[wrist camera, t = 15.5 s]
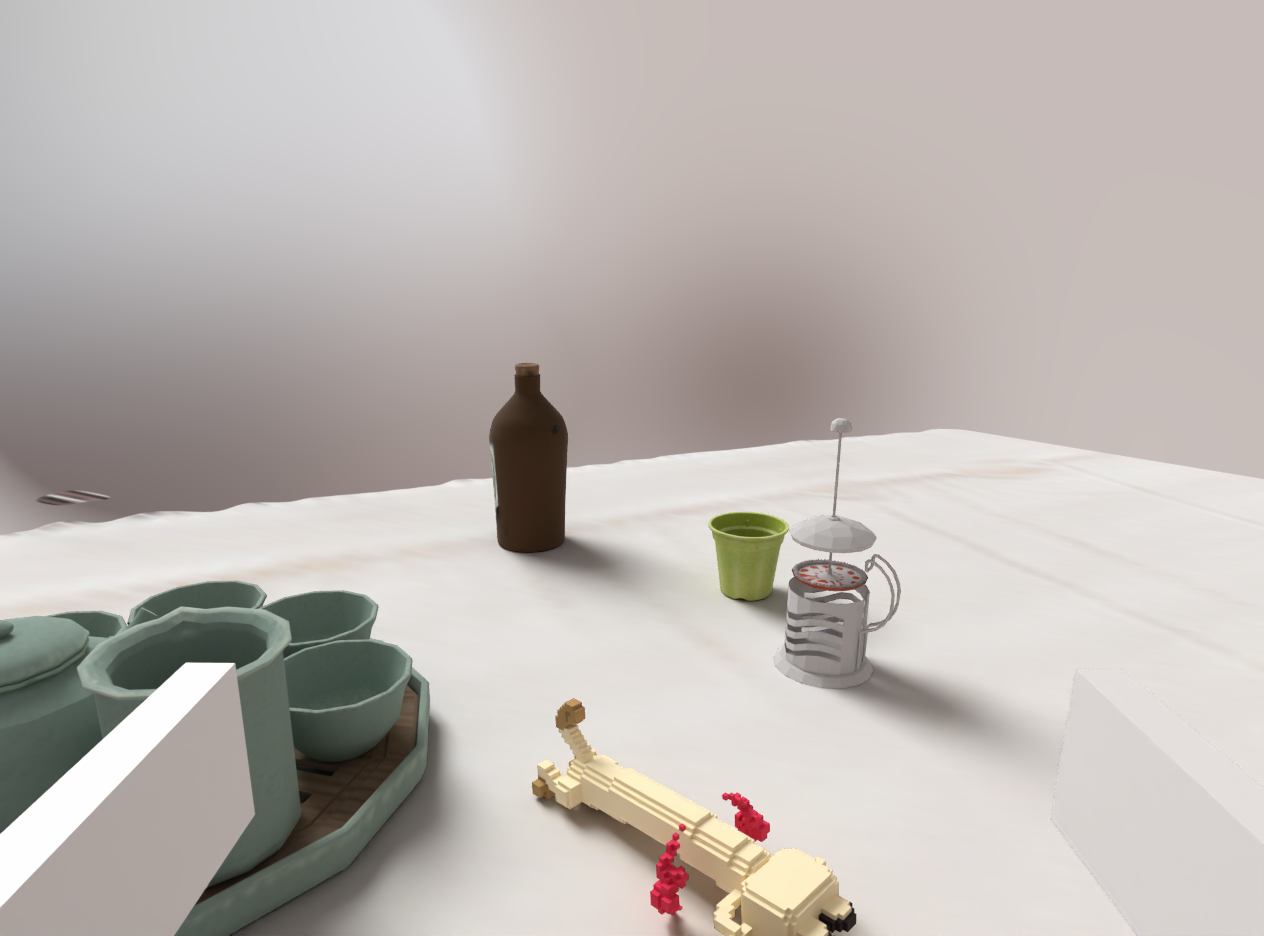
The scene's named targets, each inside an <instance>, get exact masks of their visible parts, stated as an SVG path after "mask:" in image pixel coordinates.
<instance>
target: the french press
mask: <svg viewBox="0 0 1264 936" xmlns="http://www.w3.org/2000/svg"><path fill="white" fill-rule="evenodd" d="M851 429H852V426H851V423H850V422H849V421H848V420H846V419H843V418H837V419H835V420H834V421H833V422H832V424H831V430H832V431H834V432H839V445H838V457H837V470H836V482H835V495H834V507H833V516H830V515H821V516H815V517H813V518H810V519H807V520H804V521H802V522H799V523H797V524H795V525H793V526H792V528H791V529H790V530H789V531H790V534H791V536H792V538H793V540H794V541H795V542H797V543H799V544H800V545H802V546H805V547H808V548H811V549H814V550H819V551H825V552H830V557H829V559H828V560H826V559H824V560H822V559H821V560H819V559H818V560H811V561H810V560H809V561H804V562H801V563H799V564H796V565H795V566H794V568H793V569H792V572H793V574H794V577H793V578H792V579H791V580H790V581H789V588H788V601H787V616H786V631H785V644H784V645H783V646H781V647H780V648H778V649H777V651H776V653H775V654H774V656H773V659H774V663H775V666H776V667H777V668H778V669H779V670H780V671H781V672H782V673H783V674H784V675H785V676H787V677H789V678H791V679H793V680H796V681H798V682H800V683H803V684H807V685H811V686H815V687H820V688H840V689H842V688H847V687H852V686H858V685H860V684H862V683H863V682H865V681H867V680H868V679H870V677H871V675H872V672H873V668H872V666H871V663H870V661H869V660H868V659H867V657H866V656H865V652H866V642H867V633H868V632H872V631H876V630H878V629H879V628H881V627H883V626H884V625H885V624H886V623H887V621H889V620H890V619H891V618H892V617H893V615H894V614H895V612H896V610H897V607H898V605H899V599H900V593H901V589H900V583H899V580H898V577H897V575H896V572H895V570H894V569H893V568H892V567H891V565H890V564H889V563H888V562H887V561H886V560H885V559H883V558H882V557H881V556H880V555H876V554H874V555H873V556H872V559H871V560H867V561H866V562H865V571H866V572H869V571H870V570H871V569H872V568H873V566H874V565H875V566H876V567H878V568H879V569H880V570H881V571H882V573H883V574H884V575H885V577H886V578H887V580H888V583H889V585H890V589H891V594H892V598H891V606H890V611H889V614H888V616H887V617H886V619H885V620H883V621H881V622H877V623H871V624H869V625H868V626H867V615H868V604H869V593H870V592H869V590H868V588H867V586H866V585H864V584H865V583H866V581H867V579H868V577H867V575H866V573H865V572H864V571H863V570H861V569H860V568H858V567H856V566H854V565H853V566H852V565H851V564H850V565H849V564H848V563H847V564H846V563H845V562H844V563H842V562H839V561H838V562H836V561H835V560H834V561H832V553H852V552H860V551H863V550H866V549H868V548H871V546H872V545H873V543H874V542H875V540H876V538H877V537H876V536H875V534H874V533H873V532H872V531H871V530H869V529H868V528H867V527H865V526H864V525H863V524H861V523H860V522H857V521H854V520H850V519H847V518H844V517H840V516H835V511H836V498H837V486H838V474H839V461H840V449H841V436H842V432H844V433H845V432H851ZM875 557H878V558H879V559H880V560H882V561H883V562H884V563H886V564H887V566H888V567H889V568H890V570H891V571H892V572H893V575H894V578H895V580H896V583H897V588H898V592H897V602H896V605H895V607H894V596H895V595H894V590H893V586H892V583H891V581H890V579H889V576H888V575H887V574H886V573H885V571H884V570H883V569H882V567H881V566H879V565H878V564H877V563H876V562H875ZM868 563H871V566H870V567H869V568H868ZM853 589H855V590H856V591H857V592H859V593H860V594H861V596H862V597H863V599H864V600H865V605H864V600H862V601H861V600H859V599H858V598H857V597H856V596H854V595H853V594H852V593H844V592H840V593H836V594H832V595H829V596H825V597H820V598H814V599H809V598H804V592H806V593H815V592H822V591H826V590H828V591H847V590H853ZM836 599H849V600H852V601H853V602H855V603H850V604H828V603H825V602H829V601H833V600H836ZM893 607H894V610H893ZM863 613H864V615H863ZM822 614H828V615H832V616H834V617H830V618H826V619H805V620H802V616H815V615H822ZM838 621H841V622H844V625H843V626H842V625H839V624H837V623H834V622H838ZM862 625H863V626H862ZM877 625H879V626H878V627H876V628H872V629H868V628H869V627H872V626H877ZM815 626H823V627H827V628H830V629H826V630H821V631H815V632H814V631H806V632H801V628H802V627H815ZM866 626H867V627H866Z"/></svg>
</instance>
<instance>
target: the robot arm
mask: <svg viewBox="0 0 1264 936" xmlns="http://www.w3.org/2000/svg"><path fill="white" fill-rule="evenodd" d="M254 815H255V810H254V803H253V795H252V787H251V780H250V772H249V765H248V757H247V749H246V742H245V734H244V726H243V719H242V711H241V704H240V696H239V688H238V681H237V673H236V666H235V663H185V664H184V665H183V666H182V667H181V668H180V669H178V670H177V671H176V672H175V673H174V674H173V675H172V676H171V677H170V678H169V679H168V680H167V681H165V682H164V683H163V684H162V685H161V686H160V687H159V688H158V689H157V690H156V691H155V692H154V693H152V694H151V695H150V696H149V697H148V698H147V699H146V700H145V701H144V702H143V703H142V704H141V705H140V706H138V707H137V708H136V709H135V710H134V711H133V712H132V713H131V714H130V715H129V716H128V717H127V718H125V719H124V720H123V721H122V722H121V723H120V724H119V725H118V726H117V727H116V728H115V729H114V730H112V731H111V732H110V733H109V734H108V735H107V736H106V737H105V738H104V739H103V740H102V741H101V742H99V743H98V744H97V745H96V746H95V747H94V748H93V749H92V750H91V751H90V752H89V753H88V754H86V755H85V756H84V757H83V758H82V759H81V760H80V761H79V762H78V763H77V764H76V765H75V766H73V767H72V768H71V769H70V770H69V771H68V772H67V773H66V774H65V775H64V776H63V777H62V778H60V779H59V780H58V781H57V782H56V783H55V784H54V785H53V786H52V787H51V788H50V789H49V790H47V791H46V792H45V793H44V794H43V795H42V796H41V797H40V798H39V799H38V800H37V801H36V802H34V803H33V804H32V805H31V806H30V807H29V808H28V809H27V810H26V811H25V812H24V813H23V814H22V815H20V816H19V817H18V818H17V819H16V820H15V821H14V822H13V823H12V824H11V825H10V826H9V827H7V828H6V829H5V830H4V831H3V832H2V833H1V834H0V936H174V935H175V934H176V932H177V931H178V929H179V928H180V926H181V925H182V923H183V922H184V920H185V919H186V917H187V916H188V914H189V913H190V911H191V910H192V908H193V907H194V905H195V904H196V902H197V901H198V899H199V898H200V896H201V895H202V893H203V892H204V890H205V889H206V887H207V886H208V884H209V883H210V881H211V880H212V878H213V877H214V875H215V874H216V872H217V871H218V869H219V868H220V866H221V865H222V863H223V862H224V860H225V859H226V857H227V856H228V854H229V853H230V851H231V850H232V848H233V847H234V845H235V844H236V842H237V841H238V839H239V838H240V836H241V835H242V833H243V832H244V830H245V829H246V827H247V826H248V824H249V823H250V821H251V820H252V818H253V817H254ZM1050 820H1051V821H1052V823H1053V824H1054V825H1055V827H1056V828H1057V829H1058V831H1059V832H1060V833H1061V835H1062V836H1063V837H1064V839H1065V840H1066V841H1067V843H1068V844H1069V845H1070V847H1071V848H1072V849H1073V851H1074V852H1075V853H1076V855H1077V856H1078V857H1079V859H1080V860H1081V862H1082V863H1083V864H1084V866H1085V867H1086V868H1087V870H1088V871H1089V872H1090V874H1091V875H1092V876H1093V878H1094V879H1095V880H1096V882H1097V883H1098V884H1099V886H1100V887H1101V888H1102V890H1103V891H1104V892H1105V894H1106V895H1107V896H1108V898H1109V899H1110V900H1111V902H1112V903H1113V904H1114V906H1115V907H1116V909H1117V910H1118V911H1119V913H1120V914H1121V915H1122V917H1123V918H1124V919H1125V921H1126V922H1127V923H1128V925H1129V926H1130V927H1131V929H1132V930H1133V931H1134V933H1135V934H1136V935H1137V936H1264V786H1262V785H1261V784H1260V783H1259V782H1258V781H1256V780H1255V779H1254V778H1253V777H1252V776H1250V775H1249V774H1248V773H1247V772H1246V771H1245V770H1243V769H1242V768H1241V767H1240V766H1239V765H1237V764H1236V763H1235V762H1234V761H1233V760H1231V759H1230V758H1229V757H1228V756H1227V755H1225V754H1224V753H1223V752H1222V751H1221V750H1220V749H1218V748H1217V747H1216V746H1215V745H1214V744H1212V743H1211V742H1210V741H1209V740H1208V739H1206V738H1205V737H1204V736H1203V735H1202V734H1200V733H1199V732H1198V731H1197V730H1196V729H1195V728H1193V727H1192V726H1191V725H1190V724H1189V723H1187V722H1186V721H1185V720H1184V719H1183V718H1181V717H1180V716H1179V715H1178V714H1177V713H1175V712H1174V711H1173V710H1172V709H1171V708H1169V707H1168V706H1167V705H1166V704H1165V703H1164V702H1162V701H1161V700H1160V699H1159V698H1158V697H1156V696H1155V695H1154V694H1153V693H1152V692H1150V691H1149V690H1148V689H1147V688H1146V687H1144V686H1143V685H1142V684H1141V683H1140V682H1139V681H1137V680H1136V679H1135V678H1134V677H1133V676H1131V675H1130V674H1129V673H1128V672H1127V671H1125V670H1124V669H1075V674H1074V680H1073V686H1072V692H1071V698H1070V704H1069V709H1068V715H1067V721H1066V727H1065V733H1064V739H1063V745H1062V751H1061V756H1060V762H1059V768H1058V774H1057V780H1056V786H1055V792H1054V797H1053V803H1052V809H1051V815H1050Z"/></svg>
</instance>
